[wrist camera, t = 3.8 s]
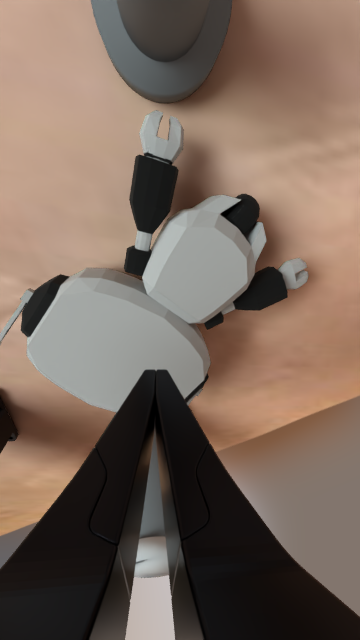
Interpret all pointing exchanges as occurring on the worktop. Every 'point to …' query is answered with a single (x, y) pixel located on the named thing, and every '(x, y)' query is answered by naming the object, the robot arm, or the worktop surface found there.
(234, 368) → the worktop surface
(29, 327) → the robot toy
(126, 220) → the worktop surface
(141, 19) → the tube
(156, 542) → the tube
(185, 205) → the worktop surface
